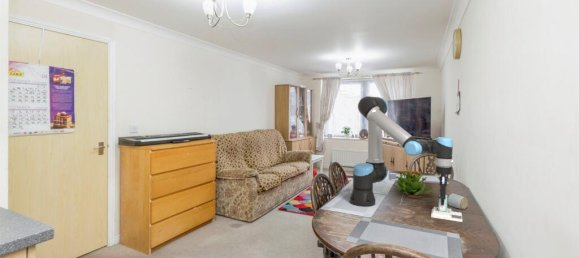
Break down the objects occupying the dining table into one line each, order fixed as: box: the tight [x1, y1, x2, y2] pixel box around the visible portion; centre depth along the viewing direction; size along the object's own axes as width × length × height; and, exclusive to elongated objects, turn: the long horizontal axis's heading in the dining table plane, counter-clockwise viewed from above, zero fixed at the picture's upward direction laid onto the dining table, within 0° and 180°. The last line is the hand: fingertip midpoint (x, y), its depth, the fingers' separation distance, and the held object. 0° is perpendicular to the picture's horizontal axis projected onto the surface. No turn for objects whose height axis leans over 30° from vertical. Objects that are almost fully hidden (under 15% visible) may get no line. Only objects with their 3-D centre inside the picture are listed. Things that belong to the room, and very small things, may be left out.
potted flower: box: [392, 169, 436, 199], centre depth 192 cm, size 25×24×18 cm
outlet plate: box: [430, 206, 463, 223], centre depth 155 cm, size 14×12×3 cm
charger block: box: [438, 193, 448, 212], centre depth 156 cm, size 4×4×9 cm
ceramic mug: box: [447, 192, 469, 210], centre depth 169 cm, size 11×8×8 cm
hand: (442, 209), depth 156 cm, fingers closed on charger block, 4 cm apart
